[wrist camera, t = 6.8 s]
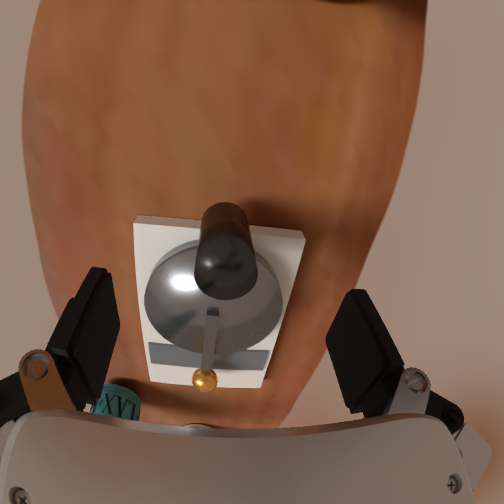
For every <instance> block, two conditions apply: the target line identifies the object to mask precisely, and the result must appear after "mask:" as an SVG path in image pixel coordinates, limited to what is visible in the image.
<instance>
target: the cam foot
mask: <svg viewBox="0 0 504 504" xmlns="http://www.w3.org/2000/svg"><path fill="white" fill-rule="evenodd" d="M144 306H145V311H146V314H147V317H148V319H149V321H150V323H151V324H152V326H153V327H154V329H155V330H156V331H157V332H158V333H159V334H160V335H161V336H162V337H164V338H165V339H166V340H168V341H169V342H170V343H172V344H174V345H176V346H178V347H180V348H182V349H185V350H188V351H191V352H195V353H200V354H202V358H201V368H198V369H197V370H195V371H194V373H193V375H192V383H193V386H194V387H195V388H196V389H197V390H199V391H201V392H210V391H212V390H213V389H214V388H215V387H216V386H217V383H218V377H217V374H216V373H215V371H214V370H212V363H213V356H214V355H221V354H230V353H234V352H239V351H242V350H245V349H247V348H250V347H252V346H254V345H255V344H257V343H259V342H260V341H262V340H263V339H264V338H266V337H267V336H268V335H269V334H270V333H271V332H272V331H273V329H274V328H275V327H276V325H277V323H278V322H279V319H280V317H281V313H282V309H283V297H282V293H281V289H280V286H279V282H278V278H277V276H276V273H275V271H274V269H273V268H272V266H271V265H270V264H269V262H268V261H267V260H266V259H265V258H264V257H263V256H261V255H260V254H259V253H258V252H256V251H255V250H254V248H253V243H252V238H251V233H250V228H249V223H248V218H247V215H246V213H245V212H244V211H243V210H242V209H241V208H240V207H239V206H237V205H235V204H233V203H228V202H222V203H217V204H215V205H213V206H211V207H210V208H208V209H207V210H206V212H205V213H204V215H203V217H202V221H201V227H200V234H199V240H194V241H190V242H187V243H184V244H181V245H179V246H177V247H175V248H173V249H172V250H170V251H169V252H167V253H166V254H165V255H164V256H163V257H161V259H160V260H159V261H158V262H157V263H156V265H155V266H154V268H153V270H152V272H151V275H150V277H149V280H148V283H147V286H146V290H145V295H144Z"/></svg>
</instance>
